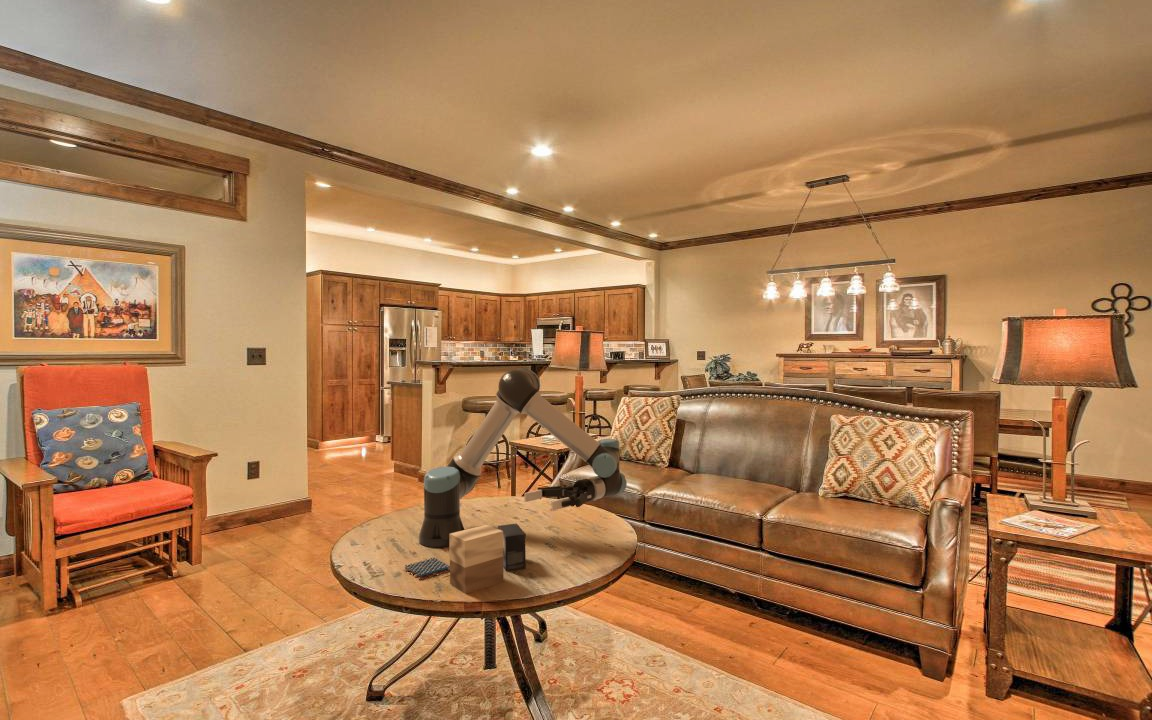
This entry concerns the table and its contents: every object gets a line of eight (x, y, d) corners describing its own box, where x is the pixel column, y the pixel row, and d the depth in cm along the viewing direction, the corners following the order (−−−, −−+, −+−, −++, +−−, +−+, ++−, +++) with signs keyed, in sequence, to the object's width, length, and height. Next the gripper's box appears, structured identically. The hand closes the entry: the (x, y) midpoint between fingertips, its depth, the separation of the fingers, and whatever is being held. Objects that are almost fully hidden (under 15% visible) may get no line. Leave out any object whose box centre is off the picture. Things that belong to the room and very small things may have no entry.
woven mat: (434, 562, 169) (434, 555, 169) (453, 572, 161) (453, 565, 161) (402, 571, 162) (402, 564, 162) (419, 582, 154) (419, 575, 154)
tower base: (450, 584, 152) (449, 559, 152) (487, 573, 160) (487, 548, 160) (465, 594, 146) (465, 567, 146) (503, 581, 154) (503, 556, 154)
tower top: (449, 559, 152) (449, 533, 152) (487, 548, 160) (486, 524, 160) (464, 567, 146) (464, 541, 146) (503, 556, 154) (502, 531, 154)
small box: (496, 559, 171) (496, 525, 170) (517, 556, 173) (517, 522, 173) (504, 572, 161) (504, 535, 161) (526, 568, 163) (526, 533, 163)
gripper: (615, 508, 178) (564, 522, 164) (564, 494, 196) (514, 505, 182) (615, 484, 178) (564, 496, 164) (564, 472, 196) (514, 482, 182)
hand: (538, 501), depth 173 cm, fingers open, 13 cm apart
